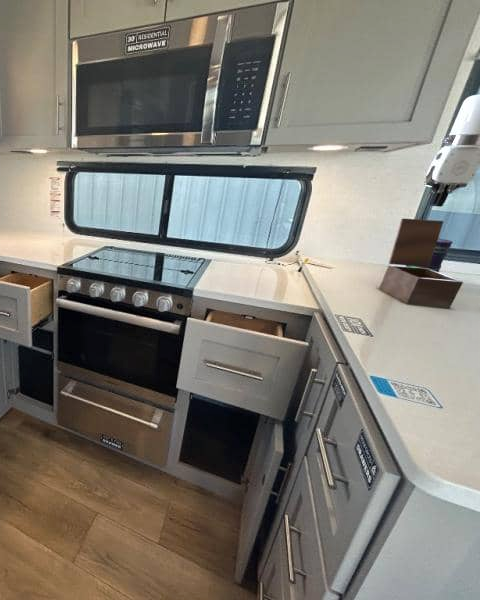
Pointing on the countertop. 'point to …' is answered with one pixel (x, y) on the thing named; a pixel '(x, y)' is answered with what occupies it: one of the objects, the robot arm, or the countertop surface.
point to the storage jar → (438, 254)
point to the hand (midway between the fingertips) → (435, 205)
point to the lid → (415, 242)
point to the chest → (420, 286)
